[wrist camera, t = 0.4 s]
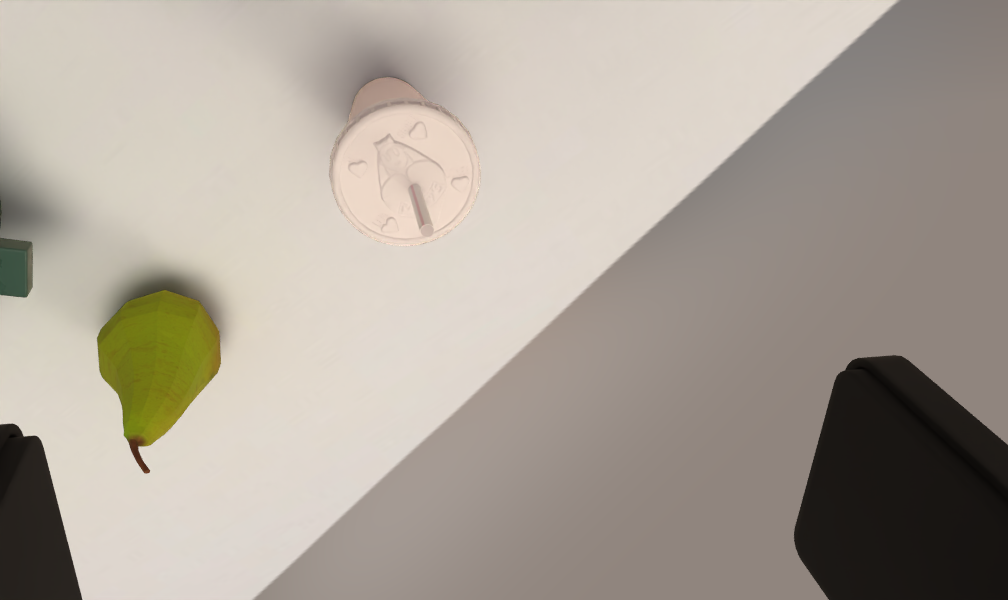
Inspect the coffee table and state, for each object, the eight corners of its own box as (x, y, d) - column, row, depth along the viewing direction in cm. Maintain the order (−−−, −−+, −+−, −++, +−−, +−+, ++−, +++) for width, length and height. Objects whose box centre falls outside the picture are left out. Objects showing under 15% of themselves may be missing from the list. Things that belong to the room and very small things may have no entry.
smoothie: (369, 193, 46) (393, 322, 34) (298, 93, 42) (297, 197, 31) (471, 131, 45) (531, 239, 33) (407, 24, 42) (449, 103, 30)
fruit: (124, 257, 45) (72, 384, 34) (242, 290, 47) (225, 420, 37) (94, 355, 47) (37, 502, 37) (208, 382, 49) (184, 528, 39)
